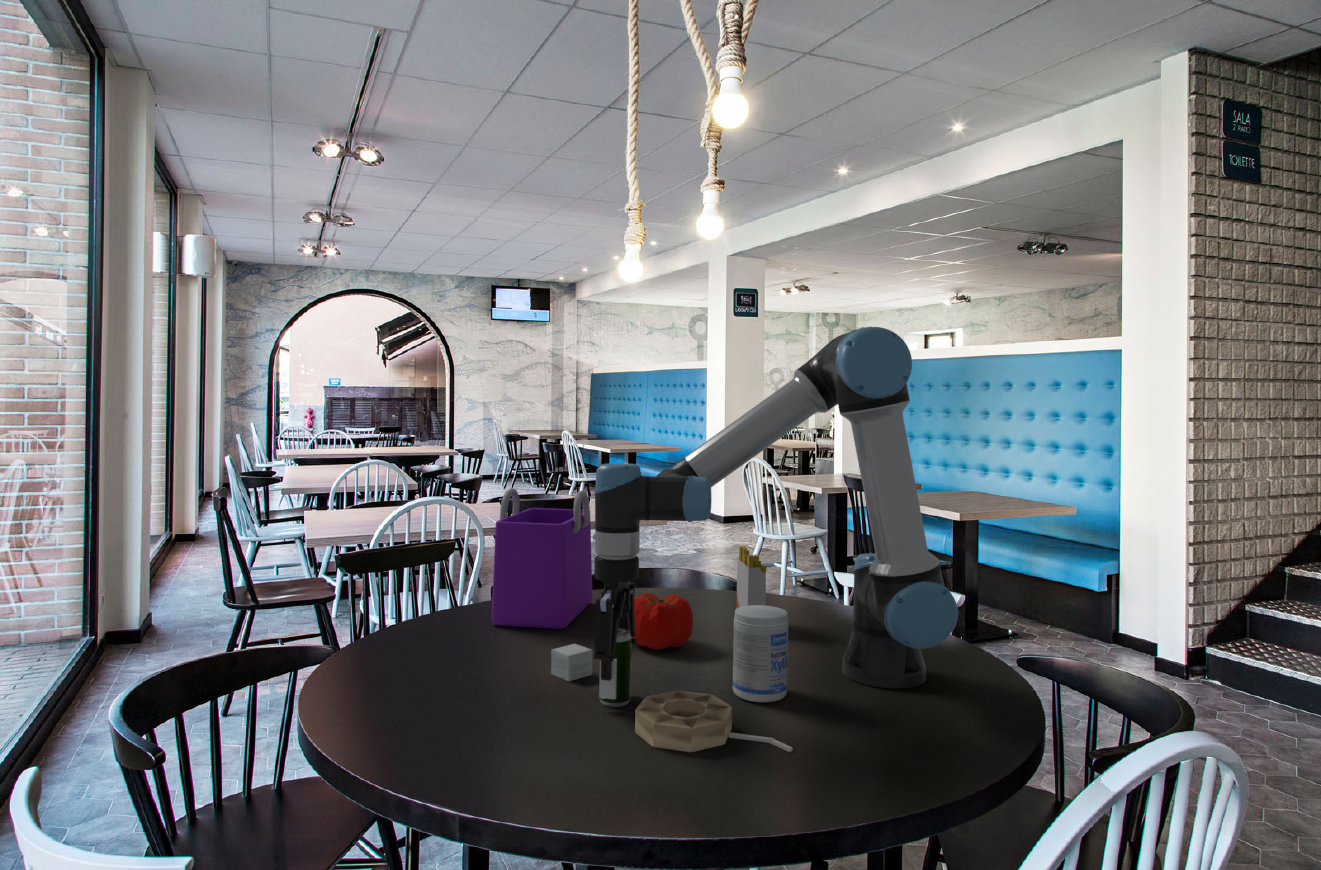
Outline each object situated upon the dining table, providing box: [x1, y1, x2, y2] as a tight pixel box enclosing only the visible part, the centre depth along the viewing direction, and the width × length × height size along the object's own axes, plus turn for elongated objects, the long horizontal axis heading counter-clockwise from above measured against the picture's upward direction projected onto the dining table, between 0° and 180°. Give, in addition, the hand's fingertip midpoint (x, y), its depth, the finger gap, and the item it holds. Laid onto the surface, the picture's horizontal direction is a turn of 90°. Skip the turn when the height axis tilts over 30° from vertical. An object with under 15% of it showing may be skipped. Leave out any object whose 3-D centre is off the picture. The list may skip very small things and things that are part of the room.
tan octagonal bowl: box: [634, 690, 733, 753], centre depth 120 cm, size 14×14×4 cm
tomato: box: [632, 592, 694, 651], centre depth 163 cm, size 14×13×10 cm
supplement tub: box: [732, 605, 789, 703], centre depth 136 cm, size 10×10×15 cm
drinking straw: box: [728, 732, 793, 753], centre depth 116 cm, size 10×3×1 cm, turn 74°
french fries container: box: [736, 545, 768, 609], centre depth 177 cm, size 5×11×18 cm, turn 7°
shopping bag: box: [491, 488, 593, 630], centre depth 186 cm, size 28×22×30 cm
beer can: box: [598, 628, 633, 708], centre depth 132 cm, size 5×5×12 cm
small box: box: [550, 643, 593, 682], centre depth 145 cm, size 6×6×5 cm
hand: (615, 689), depth 132 cm, fingers open, 7 cm apart
